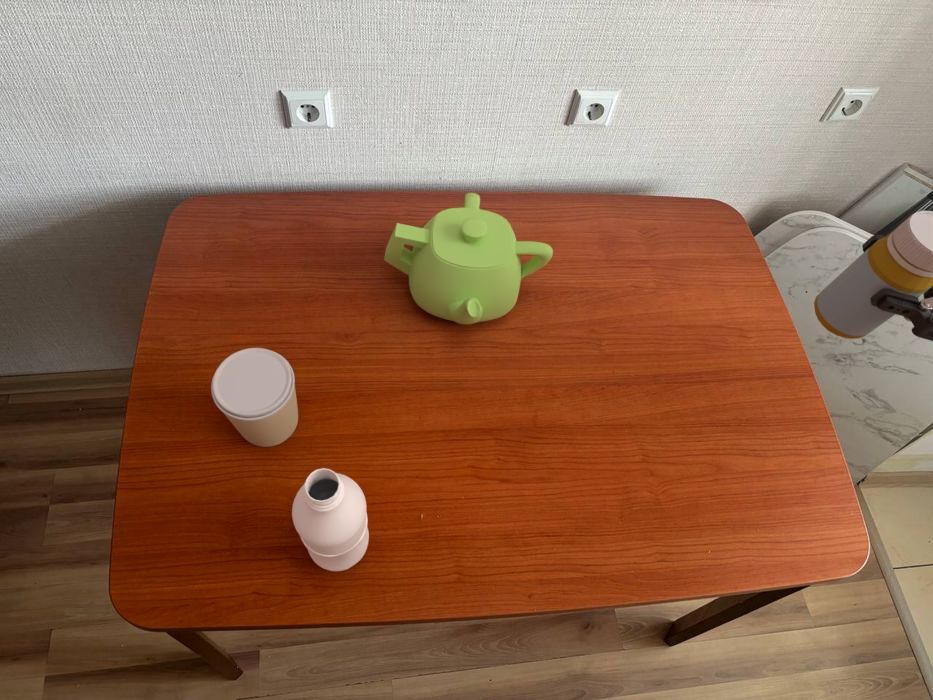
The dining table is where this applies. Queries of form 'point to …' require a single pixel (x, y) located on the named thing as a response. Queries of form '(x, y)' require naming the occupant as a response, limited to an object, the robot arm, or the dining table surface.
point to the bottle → (879, 278)
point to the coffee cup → (257, 395)
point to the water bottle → (331, 519)
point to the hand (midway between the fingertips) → (871, 268)
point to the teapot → (464, 262)
